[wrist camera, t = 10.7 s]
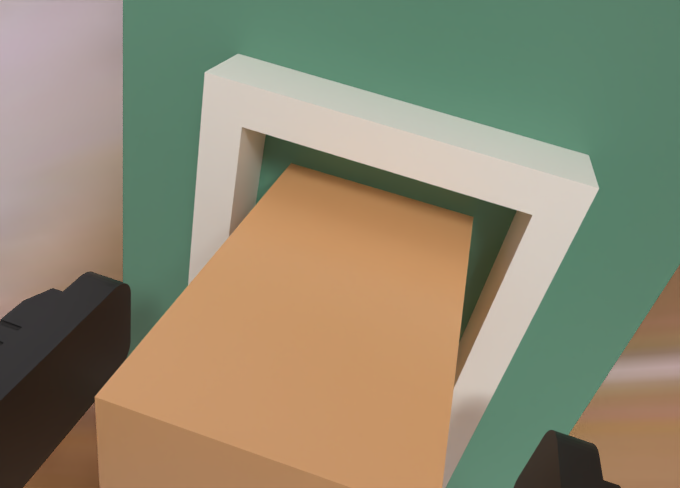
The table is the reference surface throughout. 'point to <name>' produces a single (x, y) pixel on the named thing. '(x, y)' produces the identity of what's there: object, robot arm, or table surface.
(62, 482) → the table surface
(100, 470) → the tan rectangular block
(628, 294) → the board
